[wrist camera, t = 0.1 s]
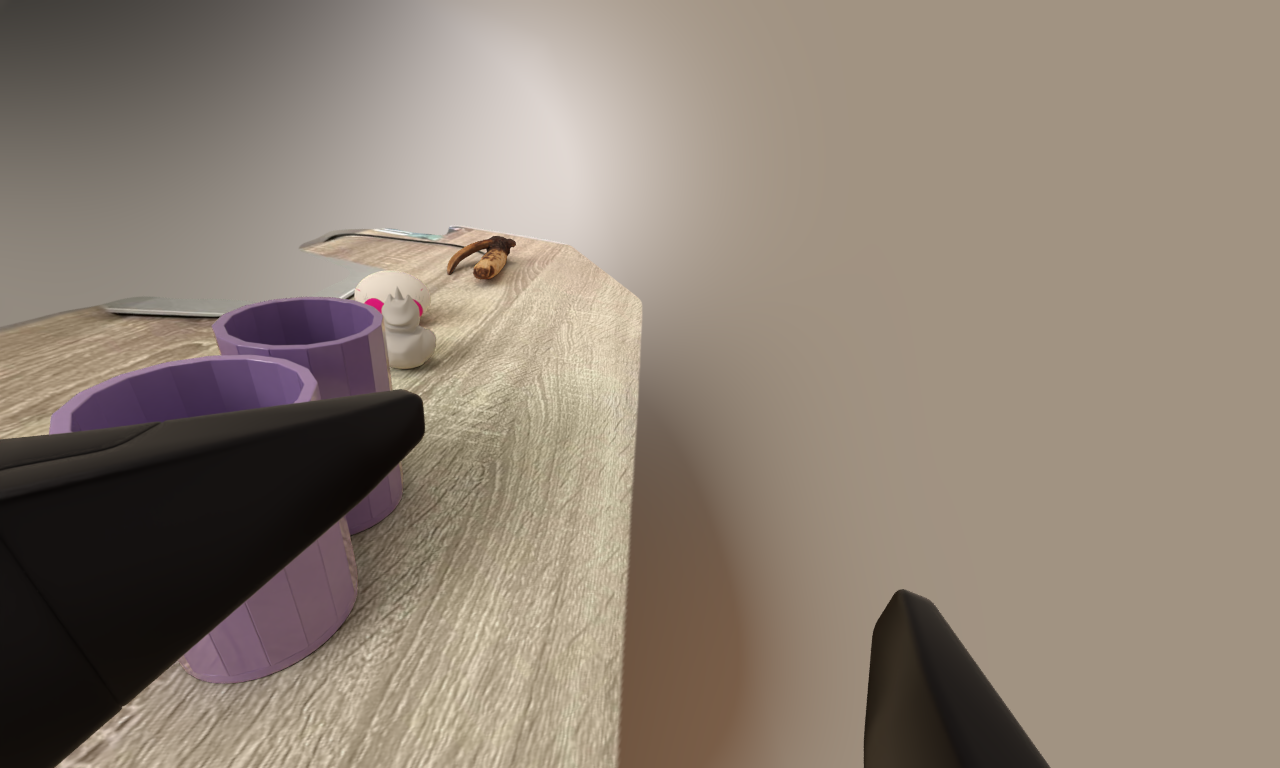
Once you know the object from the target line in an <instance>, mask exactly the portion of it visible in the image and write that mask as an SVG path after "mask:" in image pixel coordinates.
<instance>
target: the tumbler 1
mask: <svg viewBox="0 0 1280 768" xmlns="http://www.w3.org/2000/svg"><path fill="white" fill-rule="evenodd" d="M316 400H321V396H320V391H319V386H318V382H317V381H316V379H315V378H314V376H313V375H312V373H311V372H310V370H309V369H308V368H306V367H304V366H301V365H299V364H296V363H294V362H292V361H289V360H287V359H282V358H274V357H266V356H259V355H218V356H205V357H199V358H192V359H185V360H178V361H172V362H166V363H161V364H157V365H154V366H150V367H146V368H143V369H139V370H136V371H132V372H128V373H125V374H121V375H119V376H115V377H113V378H111V379H109V380H106V381H104V382H102V383H100V384H97V385H95V386H93V387H91V388H88V389H86V390H84V391H82V392H79V393H78V394H76V395H75V396H74V397H72V398H71V399H70V400H69V401H68V402H66V403H65V404H64V405H63V406H62V407H60V408H59V409H58V410H57V411H56V412H54V413H53V414H52V416H51V421H50V429H49V435H50V434H60V433H69V432H78V431H87V430H95V429H103V428H111V427H119V426H127V425H135V424H142V423H150V422H158V421H159V422H164V421H166V420H173V419H181V418H188V417H196V416H203V415H211V414H218V413H226V412H233V411H241V410H248V409H256V408H263V407H271V406H278V405H286V404H293V403H301V402H308V401H316ZM357 576H358V571H357V566H356V561H355V557H354V552H353V547H352V542H351V538H350V533H349V528H348V523H347V519H346V515H345V516H344V517H343V518H341V519H340V520H339V521H338V522H337V523H336V524H334V525H333V526H332V527H331V528H330V529H329V530H328V531H326V532H325V533H324V534H323V535H322V536H321V537H319V538H318V539H317V540H316V541H315V542H314V543H313V544H311V545H310V546H309V547H308V548H307V549H306V550H304V551H303V552H302V553H301V554H300V555H299V556H297V557H296V558H295V559H294V560H293V561H292V562H291V563H289V564H288V565H287V566H286V567H285V568H284V569H282V570H281V571H280V572H279V573H278V574H277V575H276V576H274V577H273V578H272V579H271V580H270V581H269V582H267V583H266V584H265V585H264V586H263V587H262V588H261V589H259V590H258V591H257V592H256V593H255V594H254V595H252V596H251V597H250V598H249V599H248V600H247V601H246V602H244V603H243V604H242V605H241V606H240V607H239V608H237V609H236V610H235V611H234V612H233V613H232V614H230V615H229V616H228V617H227V618H226V619H225V620H224V621H222V622H221V623H220V624H219V625H218V626H217V627H215V628H214V629H213V630H212V631H211V632H210V633H209V634H207V635H206V636H205V637H204V638H203V639H202V640H200V641H199V642H198V643H197V644H196V645H195V646H194V647H192V648H191V649H190V650H189V651H188V652H187V653H185V654H184V655H183V656H182V657H181V658H180V659H179V660H177V661H179V663H180V665H181V666H182V668H183V669H184V670H185V671H186V672H187V673H188V674H190V675H191V676H193V677H195V678H197V679H200V680H203V681H206V682H212V683H238V682H245V681H250V680H254V679H258V678H261V677H264V676H268V675H270V674H273V673H275V672H278V671H280V670H282V669H285V668H287V667H289V666H291V665H293V664H295V663H296V662H298V661H300V660H301V659H303V658H305V657H306V656H308V655H309V654H311V653H312V652H313V651H315V650H316V649H318V648H319V647H320V646H321V645H322V644H324V643H325V642H326V641H327V640H328V639H329V638H330V637H331V636H332V635H333V634H334V633H335V632H336V631H337V630H338V629H339V628H340V626H341V625H342V624H343V623H344V621H345V620H346V618H347V617H348V616H349V614H350V612H351V610H352V608H353V606H354V604H355V601H356V598H357V594H358V577H357Z"/></svg>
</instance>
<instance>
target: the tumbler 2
mask: <svg viewBox="0 0 1280 768" xmlns="http://www.w3.org/2000/svg"><path fill="white" fill-rule="evenodd" d="M212 330H213V333H214V336H215V339H216V342H217V346H218V349H219V352H220V355H259V356H266V357H274V358H282V359H287V360H289V361H292V362H294V363H296V364H299V365H301V366H304V367H306V368H308V369H309V370H310V372H311V373H312V375H313V376H314V378H315V379H316V381H317V382H318V386H319V391H320V396H321V400H323V399H331V398H338V397H346V396H353V395H361V394H368V393H376V392H383V391H391V390H392V382H391V374H390V366H389V357H388V349H387V341H386V333H385V325H384V317H383V315H382V314H381V313H380V312H379V311H378V310H377V309H376V308H375V307H373V306H370V305H367V304H364V303H361V302H358V301H354V300H347V299H340V298H333V297H332V298H331V297H296V298H285V299H274V300H269V301H264V302H259V303H255V304H250V305H245V306H242V307H240V308H237V309H235V310H233V311H230V312H228V313H225V314H223V315H221V316H220V318H219V319H218V320H217V321H216V322H215V323H214V324H213V325H212ZM403 490H404V486H403V471H402V463H401V462H400V463H399V464H398V465H397V466H396V467H395V468H394V469H393V470H392V471H391V472H390V473H389V474H388V475H387V476H386V477H385V478H384V479H383V480H382V481H381V482H380V483H379V484H378V485H377V487H376V488H375V489H373V490H372V491H371V492H370V493H369V494H368V495H367V496H366V497H365V498H364V499H363V500H362V501H361V502H360V503H359V504H358V505H356V506H355V507H354V508H353V509H352V510H351V511H349V512H348V513H347V514H346V519H347V523H348V528H349V533H350V535H353V534H356V533H359V532H361V531H364V530H366V529H368V528H370V527H372V526H374V525H375V524H377V523H379V522H380V521H381V520H383V519H384V518H385V517H387V516H388V515H389V514H390V513H391V512H392V511H393V510H394V509H395V508H396V506H397V505H398V504H399V502H400V500H401V498H402V495H403Z"/></svg>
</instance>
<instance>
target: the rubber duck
mask: <svg viewBox="0 0 1280 768" xmlns="http://www.w3.org/2000/svg"><path fill="white" fill-rule="evenodd" d="M382 315H383V317H384V325H385V333H386V341H387V349H388V357H389V366H390V367H393V368H399V369H410V368H415V367H418V366H420V365H422V364H424V362H425V361H426V360H428V359H429V358H430V357H431V356H432V355H433V353H434V350H435V347H436V336H435V334H434V332H433V331H431V330H428V329H425V328H424V327H421V326H419V322H420V314H419V307H418V306H417V304H416V303H415V302H414V300H413V299H412V298H411V297H410V295H407V296H406V299H403V297H402V294H401V292H400V290H399V288H398V287H397V288H396V293H395V298H393V297H392V295H391V294H388V297H387V299H386V301H385V303H384V305H383V307H382Z"/></svg>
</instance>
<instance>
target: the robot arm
mask: <svg viewBox="0 0 1280 768" xmlns="http://www.w3.org/2000/svg"><path fill="white" fill-rule="evenodd" d="M424 433H425V421H424V409H423V401H422V399H421V397H420V396H418V395H417V394H414V393H412V392H409V391H407V390H402V389H399V390H391V391H383V392H376V393H368V394H361V395H353V396H346V397H338V398H331V399H323V400H316V401H308V402H301V403H293V404H286V405H278V406H271V407H263V408H256V409H248V410H241V411H233V412H226V413H218V414H211V415H203V416H196V417H188V418H181V419H173V420H166V421H164V422H159V421H158V422H150V423H142V424H135V425H127V426H119V427H111V428H103V429H95V430H87V431H78V432H69V433H60V434H50V435H41V436H31V437H21V438H11V439H1V440H0V768H55V767H56V766H57V765H58V764H59V763H60V762H61V761H63V760H64V759H65V758H66V757H67V756H68V755H70V754H71V753H72V752H73V751H74V750H75V749H76V748H78V747H79V746H80V745H81V744H82V743H83V742H85V741H86V740H87V739H88V738H89V737H90V736H91V735H93V734H94V733H95V732H96V731H97V730H98V729H100V728H101V727H102V726H103V725H104V724H105V723H106V722H108V721H109V720H110V719H111V718H112V717H113V716H115V715H116V714H117V713H118V712H119V711H120V710H121V709H122V706H125V705H127V704H128V703H129V702H130V701H131V700H132V699H133V698H135V697H136V696H137V695H138V694H139V693H140V692H142V691H143V690H144V689H145V688H146V687H147V686H148V685H150V684H151V683H152V682H153V681H154V680H155V679H157V678H158V677H159V676H160V675H161V674H162V673H163V672H165V671H166V670H167V669H168V668H169V667H170V666H172V665H173V664H174V663H175V662H176V661H177V660H179V659H180V658H181V657H182V656H183V655H184V654H185V653H187V652H188V651H189V650H190V649H191V648H192V647H194V646H195V645H196V644H197V643H198V642H199V641H200V640H202V639H203V638H204V637H205V636H206V635H207V634H209V633H210V632H211V631H212V630H213V629H214V628H215V627H217V626H218V625H219V624H220V623H221V622H222V621H224V620H225V619H226V618H227V617H228V616H229V615H230V614H232V613H233V612H234V611H235V610H236V609H237V608H239V607H240V606H241V605H242V604H243V603H244V602H246V601H247V600H248V599H249V598H250V597H251V596H252V595H254V594H255V593H256V592H257V591H258V590H259V589H261V588H262V587H263V586H264V585H265V584H266V583H267V582H269V581H270V580H271V579H272V578H273V577H274V576H276V575H277V574H278V573H279V572H280V571H281V570H282V569H284V568H285V567H286V566H287V565H288V564H289V563H291V562H292V561H293V560H294V559H295V558H296V557H297V556H299V555H300V554H301V553H302V552H303V551H304V550H306V549H307V548H308V547H309V546H310V545H311V544H313V543H314V542H315V541H316V540H317V539H318V538H319V537H321V536H322V535H323V534H324V533H325V532H326V531H328V530H329V529H330V528H331V527H332V526H333V525H334V524H336V523H337V522H338V521H339V520H340V519H341V518H343V517H344V516H345V515H346V514H347V513H348V512H349V511H351V510H352V509H353V508H354V507H355V506H356V505H358V504H359V503H360V502H361V501H362V500H363V499H364V498H365V497H366V496H367V495H368V494H369V493H370V492H371V491H372V490H373V489H375V488H376V487H377V485H378V484H379V483H380V482H381V481H382V480H383V479H384V478H385V477H386V476H387V475H388V474H389V473H390V472H391V471H392V470H393V469H394V468H395V467H396V466H397V465H398V464H399V463H400V462H401V461H402V460H403V459H404V458H405V457H406V456H407V455H408V453H409V452H410V451H411V450H412V449H413V448H414V447H415V446H416V445H417V444H418V443H419V442H420V441H421V440H422V438H423V436H424ZM869 671H870V672H869V683H868V694H867V706H866V719H865V732H864V768H1050V767H1049V765H1048V764H1047V762H1046V761H1045V759H1044V758H1043V756H1042V755H1041V754H1040V752H1039V751H1038V750H1037V748H1036V747H1035V745H1034V744H1033V742H1032V741H1031V740H1030V738H1029V737H1028V735H1027V734H1026V733H1025V731H1024V730H1023V728H1022V727H1021V726H1020V724H1019V723H1018V721H1017V720H1016V719H1015V717H1014V716H1013V714H1012V713H1011V712H1010V710H1009V709H1008V708H1007V706H1006V704H1005V703H1004V702H1003V700H1002V699H1001V698H1000V696H999V695H998V693H997V692H996V691H995V689H994V688H993V686H992V685H991V683H990V682H989V681H988V679H987V678H986V676H985V675H984V674H983V672H982V671H981V669H980V668H979V667H978V665H977V664H976V662H975V661H974V660H973V658H972V657H971V655H970V654H969V653H968V651H967V650H966V648H965V647H964V645H963V644H962V643H961V641H960V640H959V638H958V637H957V636H956V634H955V633H954V632H953V630H952V629H951V627H950V626H949V624H948V623H947V622H946V620H945V619H944V617H943V616H942V615H941V613H940V612H939V610H938V609H937V608H936V606H935V605H934V604H933V603H932V602H931V601H930V600H929V599H927V598H925V597H922V596H919V595H917V594H915V593H912V592H910V591H907V590H904V589H902V590H898V591H897V592H896V593H895V594H894V595H893V597H892V599H891V600H890V602H889V603H888V605H887V606H886V608H885V610H884V611H883V613H882V614H881V616H880V618H879V619H878V621H877V623H876V625H875V628H874V631H873V636H872V647H871V659H870V670H869Z"/></svg>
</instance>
